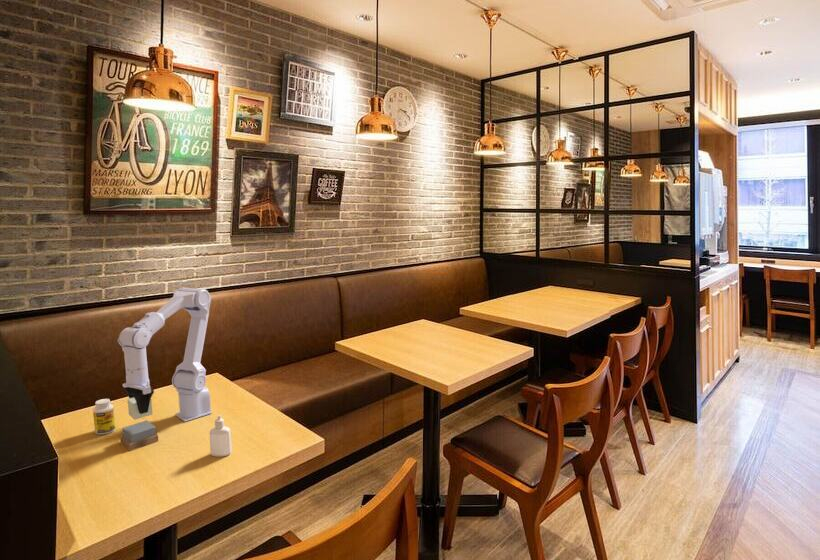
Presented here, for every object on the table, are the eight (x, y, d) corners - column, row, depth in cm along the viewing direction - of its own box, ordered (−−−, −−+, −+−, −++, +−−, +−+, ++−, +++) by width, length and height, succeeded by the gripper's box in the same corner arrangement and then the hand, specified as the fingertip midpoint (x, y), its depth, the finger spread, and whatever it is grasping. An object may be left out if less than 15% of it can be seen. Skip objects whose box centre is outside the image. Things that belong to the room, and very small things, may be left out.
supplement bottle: (95, 437, 152) (92, 406, 150) (95, 430, 157) (91, 400, 155) (116, 432, 155) (113, 402, 153) (115, 425, 160) (112, 396, 158)
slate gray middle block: (147, 427, 154) (146, 420, 154) (156, 434, 150) (155, 427, 149) (123, 435, 149) (122, 427, 149) (131, 443, 145) (131, 435, 144)
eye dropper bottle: (222, 459, 140) (220, 420, 138) (208, 455, 142) (205, 416, 140) (234, 452, 144) (231, 414, 142) (219, 448, 146) (217, 410, 144)
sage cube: (146, 409, 151) (145, 394, 150) (152, 414, 148) (151, 398, 147) (128, 414, 148) (127, 399, 147) (134, 419, 144) (133, 403, 143)
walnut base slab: (148, 434, 155) (148, 427, 155) (158, 443, 150) (158, 435, 149) (121, 443, 149) (120, 435, 149) (130, 452, 144) (129, 444, 144)
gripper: (113, 364, 147) (117, 407, 149) (130, 376, 138) (134, 421, 140) (138, 359, 152) (142, 400, 155) (156, 370, 143) (160, 413, 145)
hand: (140, 410), depth 148 cm, fingers closed on sage cube, 5 cm apart
